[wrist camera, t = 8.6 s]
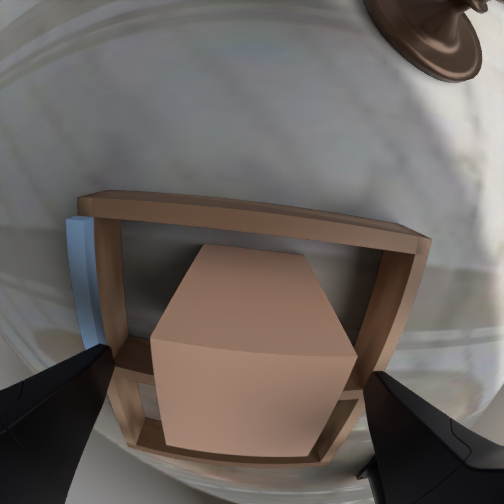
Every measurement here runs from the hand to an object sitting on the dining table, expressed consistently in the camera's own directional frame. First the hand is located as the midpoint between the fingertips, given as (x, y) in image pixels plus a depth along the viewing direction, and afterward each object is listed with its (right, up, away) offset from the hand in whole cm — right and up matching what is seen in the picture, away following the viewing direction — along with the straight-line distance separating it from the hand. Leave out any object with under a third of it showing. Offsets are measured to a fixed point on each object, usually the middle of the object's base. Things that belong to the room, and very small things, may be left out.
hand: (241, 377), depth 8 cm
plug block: (0, +2, +6) cm, 7 cm away
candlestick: (+11, +18, +1) cm, 22 cm away
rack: (0, -2, +7) cm, 8 cm away
